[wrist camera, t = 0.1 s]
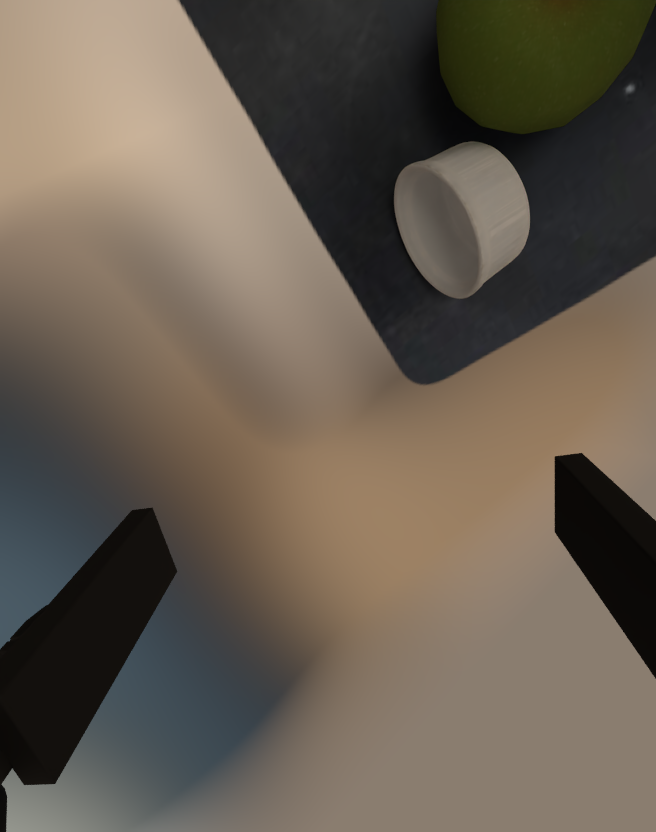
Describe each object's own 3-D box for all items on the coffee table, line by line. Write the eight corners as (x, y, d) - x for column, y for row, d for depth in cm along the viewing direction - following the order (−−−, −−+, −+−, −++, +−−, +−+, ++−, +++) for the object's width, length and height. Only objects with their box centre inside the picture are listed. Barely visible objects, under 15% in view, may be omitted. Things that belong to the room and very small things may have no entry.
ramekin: (523, 291, 29) (473, 323, 29) (441, 229, 34) (396, 257, 33) (558, 164, 22) (489, 206, 21) (445, 107, 26) (387, 140, 26)
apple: (450, -70, 25) (501, -253, 16) (620, -30, 25) (768, -189, 16) (401, 138, 29) (420, 86, 20) (548, 171, 29) (634, 135, 20)
